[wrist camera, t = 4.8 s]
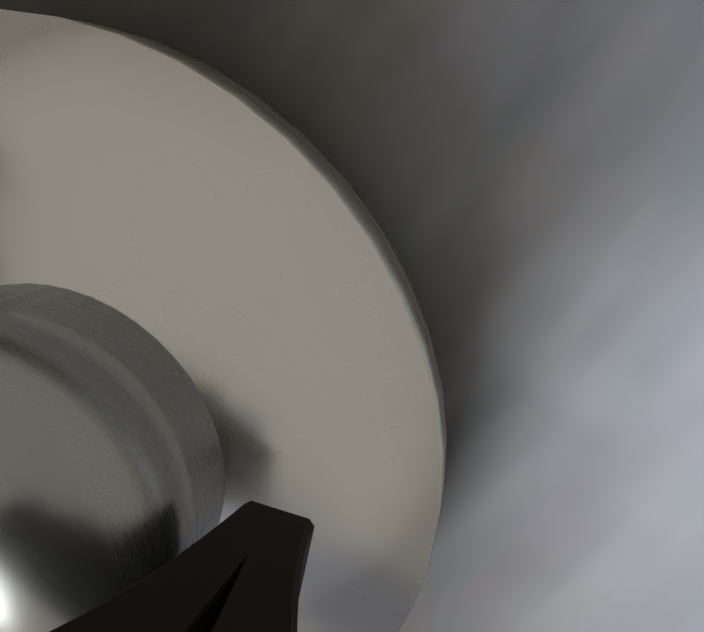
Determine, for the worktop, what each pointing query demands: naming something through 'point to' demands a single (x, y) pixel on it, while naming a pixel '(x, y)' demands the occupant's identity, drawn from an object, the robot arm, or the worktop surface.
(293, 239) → the turntable
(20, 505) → the cover
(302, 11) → the worktop surface
